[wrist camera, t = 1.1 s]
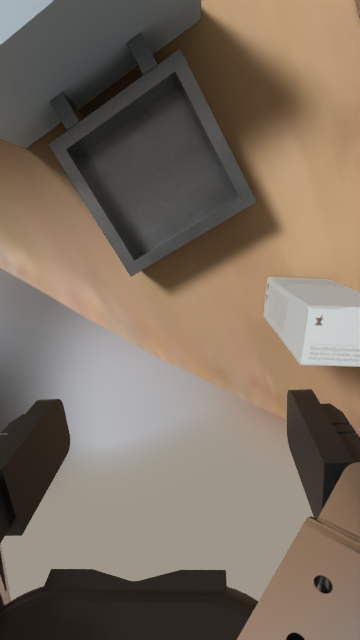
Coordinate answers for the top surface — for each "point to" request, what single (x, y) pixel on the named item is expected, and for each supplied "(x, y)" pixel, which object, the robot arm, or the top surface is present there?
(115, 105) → the grey open tray
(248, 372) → the top surface
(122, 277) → the top surface
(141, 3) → the backboard
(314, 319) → the skincare box
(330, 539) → the robot arm
